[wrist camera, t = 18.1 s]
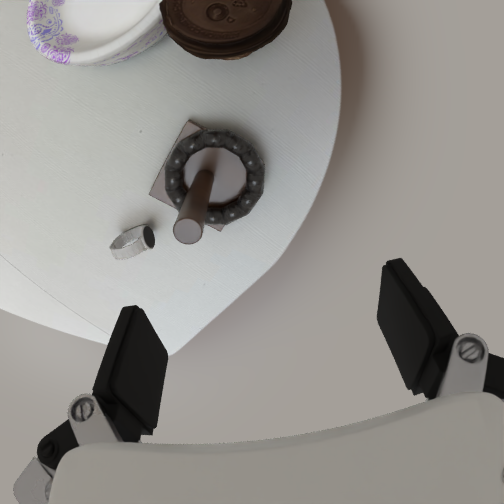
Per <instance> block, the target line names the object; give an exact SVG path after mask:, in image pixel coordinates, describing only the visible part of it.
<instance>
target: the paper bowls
mask: <svg viewBox="0 0 504 504" xmlns="http://www.w3.org/2000/svg"><path fill="white" fill-rule="evenodd" d="M161 1H162V0H30V2H29V6H28V11H27V29H28V34H29V37H30V39H31V42H32V44H33V45H34V47H35V48H36V49H37V51H38V52H39V53H40V54H41V55H43V56H44V57H46V58H47V59H49V60H51V61H54V62H57V63H61V64H65V65H79V66H105V65H110V64H115V63H118V62H121V61H124V60H127V59H129V58H131V57H133V56H135V55H137V54H139V53H141V52H143V51H145V50H146V49H148V48H149V47H151V46H152V45H153V44H155V43H156V42H157V41H159V40H160V39H161V38H163V37H164V35H165V34H166V33H167V31H166V28H165V26H164V25H163V19H162V15H161V12H160V9H159V8H160V6H159V3H160V2H161Z"/></svg>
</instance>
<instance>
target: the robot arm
mask: <svg viewBox="0 0 504 504" xmlns="http://www.w3.org/2000/svg"><path fill="white" fill-rule="evenodd" d="M377 321H378V324H379V326H380V329H381V330H382V333H383V335H384V337H385V339H386V341H387V344H388V346H389V348H390V350H391V353H392V355H393V357H394V359H395V362H396V364H397V366H398V368H399V371H400V373H401V376H402V378H403V380H404V383H405V385H406V387H407V389H408V390H410V389H411V390H412V392H413V395H417V394H420V393H424V395H425V397H426V398H427V399H426V402H423V403H420V404H417V405H414V406H411V407H408V408H405V409H402V410H399V411H396V412H392V413H389V414H386V415H382V416H379V417H375V418H372V419H368V420H365V421H361V422H357V423H353V424H349V425H345V426H341V427H336V428H332V429H327V430H322V431H317V432H312V433H306V434H301V435H295V436H288V437H282V438H275V439H266V440H258V441H247V442H234V443H219V444H151V443H150V444H149V443H142V442H141V441H140V437H141V435H153V429H155V428H156V427H157V422H158V416H159V409H160V402H161V397H162V391H163V385H164V379H165V373H166V368H167V362H168V353H167V350H166V349H165V347H164V345H163V344H162V342H161V340H160V339H159V337H158V335H157V333H156V332H155V330H154V328H153V327H152V325H151V323H150V321H149V319H148V318H147V316H146V314H145V312H144V310H143V309H142V308H139V307H138V306H137V305H134V306H126V307H123V308H122V310H121V312H120V315H119V317H118V320H117V322H116V325H115V327H114V330H113V333H112V335H111V338H110V340H109V343H108V346H107V349H106V351H105V354H104V357H103V360H102V363H101V365H100V368H99V371H98V374H97V377H96V380H95V383H94V386H93V389H92V390H93V393H92V395H91V394H81V395H79V396H77V397H76V398H75V399H74V400H73V401H72V402H71V403H70V405H69V408H68V418H69V419H68V420H67V421H65V422H64V423H63V424H61V425H60V426H58V427H57V428H56V429H54V430H53V431H52V432H50V433H49V434H48V435H46V436H45V437H44V438H43V439H42V440H41V441H40V443H39V444H38V448H37V455H38V458H36V457H34V458H33V459H32V460H31V462H30V463H29V464H28V466H27V467H26V468H25V470H24V471H23V472H22V474H21V475H20V477H19V478H18V479H17V481H16V482H15V484H14V488H13V491H14V495H15V497H16V499H17V501H18V502H19V504H504V358H501V357H499V356H496V355H493V354H490V353H488V347H487V344H486V343H485V341H484V340H483V339H482V338H481V337H479V336H478V335H475V334H471V333H466V334H462V335H460V336H459V335H458V334H457V332H456V330H455V329H454V327H453V326H452V324H451V323H450V321H449V320H448V318H447V317H446V315H445V314H444V312H443V311H442V309H441V308H440V306H439V305H438V303H437V302H436V300H435V299H434V298H433V296H432V295H431V293H430V292H429V291H428V289H427V288H425V287H423V286H422V285H421V283H420V282H419V281H418V279H417V278H416V276H415V275H414V274H413V272H412V271H411V270H410V268H409V267H408V266H407V264H406V263H405V262H404V261H403V259H402V258H398V259H393V260H389V261H387V262H386V265H384V266H383V267H382V276H381V286H380V295H379V304H378V311H377Z"/></svg>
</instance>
